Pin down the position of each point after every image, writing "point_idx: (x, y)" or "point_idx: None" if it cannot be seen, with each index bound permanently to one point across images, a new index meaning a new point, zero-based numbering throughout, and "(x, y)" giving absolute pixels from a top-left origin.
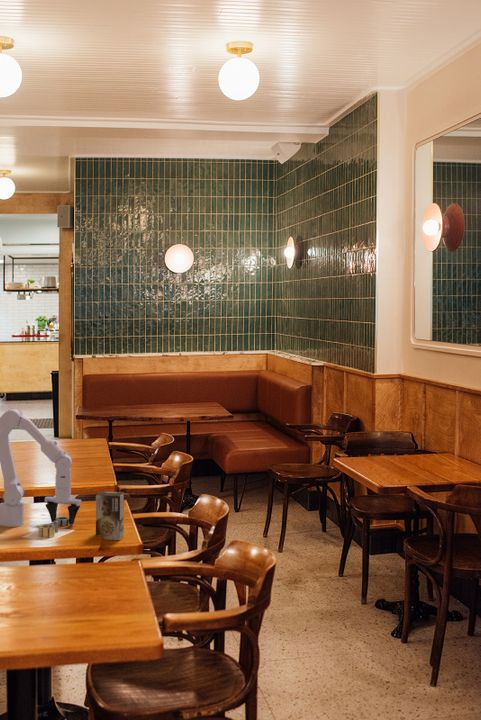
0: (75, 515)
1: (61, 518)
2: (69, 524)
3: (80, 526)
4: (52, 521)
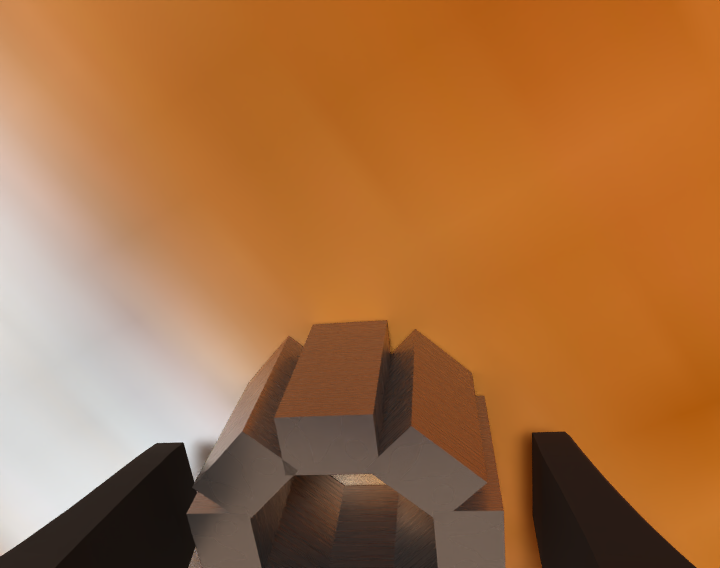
0: (659, 551)
1: (275, 483)
2: (533, 514)
3: (612, 247)
4: (190, 537)
